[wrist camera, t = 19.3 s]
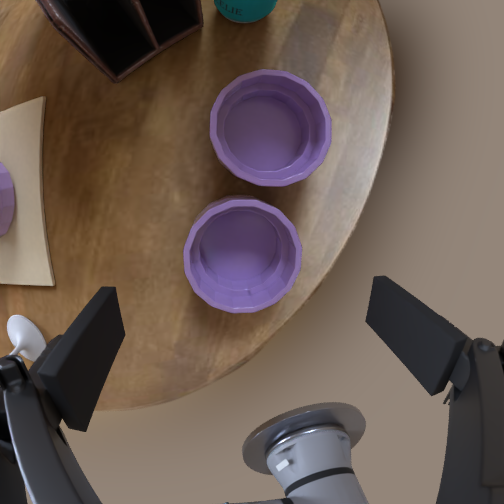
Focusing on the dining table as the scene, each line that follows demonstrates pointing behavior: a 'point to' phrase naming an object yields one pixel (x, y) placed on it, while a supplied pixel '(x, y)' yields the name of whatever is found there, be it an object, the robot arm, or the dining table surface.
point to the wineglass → (25, 337)
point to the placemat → (25, 197)
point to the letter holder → (122, 29)
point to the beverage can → (245, 9)
